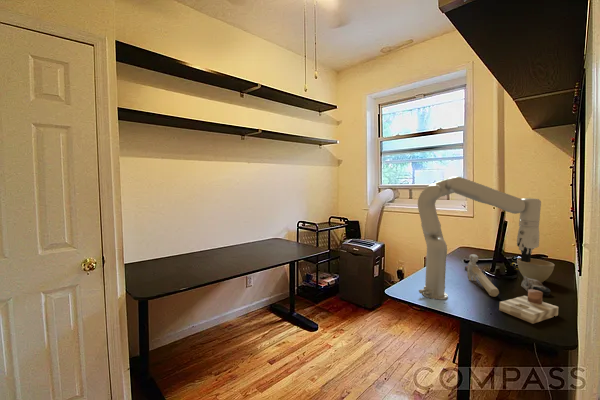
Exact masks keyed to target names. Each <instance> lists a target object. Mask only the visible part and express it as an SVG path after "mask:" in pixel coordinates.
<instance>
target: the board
mask: <svg viewBox="0 0 600 400" xmlns="http://www.w3.org/2000/svg"><path fill="white" fill-rule="evenodd" d="M527 299H528V295H521V296H517V297H514V298H510V299H506V300H502V301H499V307H498V311H500V312H503V313H506V314H508V315H511V316H513V317H515V318H518V319H521V320H523V321H525V322H527V323H530V324H536V323H539V322H542V321H545V320H549V319H551V318H554V316H555V317H557V316H558V315H559V306H557V305H553V304H551V303H548V302H544V301H542V305H534V304H531V303H529V302H527Z"/></svg>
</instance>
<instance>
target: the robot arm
mask: <svg viewBox="0 0 600 400" xmlns="http://www.w3.org/2000/svg"><path fill="white" fill-rule="evenodd" d="M451 194H457V195H459V196H462V197H464V198H467V199H470V200H473V201H475V202H478V203H481V204H485V205H489V206H492V207H495V208H498V209H500V210H503V211H505V212H507V213H510V214H514V215H515V214H519V220H518V231H517V237H516V246H517V247H518V250H519V251H520V253H521V257H520V258H521V261H524V262H530V260H531V257H532V253H533V250H535V249H537V248H538V247H539V246H540V219H541V207H542V201H541V199H539V198H533V197H532V198H531V197H529V198H528V197H527V198H521V197H516V196H514V195H511V194H509V193H506V192H502V191H501V190H500V191H499V190H497V189H495V188H492V187H490V186H487V185H484V184H482V183H477V182H476V181H473V180H470V179H467V178H465V177H461V176H458V175H457V176H456V175H455V176H451V177H449V178H446V179H442V180H439V181H436V182H434V183H431V184H428V185H427V186H425V188H424V189H423V190H422V191H421V193H420V194H419V195H418V198H417V209H418V213H419V214H418V215H419V217H420V222H421V224H420V225H421V229H422V233H423V236H424V241H425V244H426V257H425V260H426V261H425V281H424V282H425V285H424V286H423V288H422V289H418V293H419V294H422V295H423V296H424V297H426V298H429V299H432V300H437V301H438V300H439V301H440V300H441V301H442V300H447V299H448V296H449V295H448V293H446V289H445V288H446V273H447V271H446V269H447V256H448V255H447V254H448V244H447V243H446V240H445V238H444V235H443V231H442V228H441V227H442V224H441V222H440V219H439V216H438V213H437V208H436V202H437V201H438V200H439V199H440V198H441V197H445V196H448V195H451Z"/></svg>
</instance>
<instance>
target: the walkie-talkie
mask: <svg viewBox="0 0 600 400" xmlns="http://www.w3.org/2000/svg"><path fill="white" fill-rule="evenodd" d="M467 268H468V265H467V266H466V265H465V266H464V270H465V271H466V272H468V270H467ZM480 270H481V269H480ZM481 272H482V273H483V274H484V275H485V276H486V272H485V271H483V270H481Z"/></svg>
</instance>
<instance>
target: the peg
mask: <svg viewBox="0 0 600 400" xmlns="http://www.w3.org/2000/svg"><path fill="white" fill-rule="evenodd" d="M543 296H544V295H543V292H541V291H538V290H533V289H529V290H528V292H527V297H528V299H527V302H529V303H531V304H534V305H542V302H543Z"/></svg>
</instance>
